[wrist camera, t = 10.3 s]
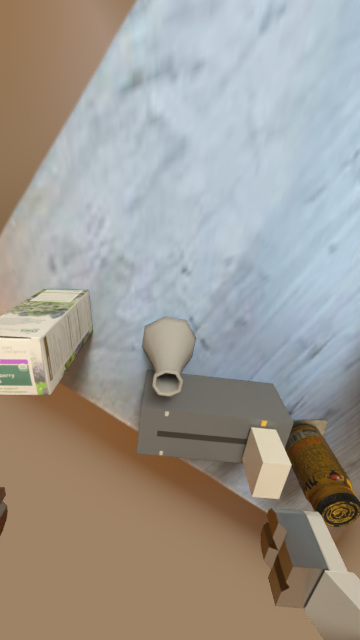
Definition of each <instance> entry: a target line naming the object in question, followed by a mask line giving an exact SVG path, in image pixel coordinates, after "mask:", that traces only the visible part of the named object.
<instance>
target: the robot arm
mask: <svg viewBox="0 0 360 640" xmlns="http://www.w3.org/2000/svg"><path fill="white" fill-rule="evenodd" d="M5 495H6V494H5V488H4V487H0V535H1V533H2V531H3V528H4V525H5V522H6V519H7V512H8V510H7V505H6V504H5V503H4V502H3V499H4V497H5ZM267 519H268V522H267V523H265V524H264V525H263V527H262V530H261V549H262V554H263V558H264V561H265V562H266V563H267V565H268V566H269V567H270V568H271V571H270V574H269V577H268V579H269V583H270V586H271V591H272V594H273V598H274V602H275V606H284V607H294V608H305V609H304V611H305V612H306V614H307V615H308V617H309V618H310V620H311V621H312V623H313V624H314V626H315V627H316V629H317V630H318V631H319V633H320V634H321V636H322V637H323V639H324V640H360V579H359V578H358V577H357V576H356V575H355V574H354V573H353V572H348V571H347V568H346V567H345V564H344V562H343V560H342V558H341V556H340V554H339V552H338V550H337V547H336V545H335V543H334V541H333V539H332V537H331V535H330V533H329V531H328V529H327V526H326V524H325V522H324V520H323V518H322V516H321V515H320V514H319V513H318V512H316V511H301V510H294V509H278V508H271V509H269V511H268V513H267Z"/></svg>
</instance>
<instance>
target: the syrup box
mask: <svg viewBox="0 0 360 640" xmlns="http://www.w3.org/2000/svg"><path fill="white" fill-rule="evenodd" d="M92 332H93V328H92V319H91V310H90V300H89V291H88V290H54V289H44V290H42V291H40V292H38V293H37V294H35V295H34V296H32V297H31V298H29V299H27V300H26V301H24V302H23V303H21V304H19V305H18V306H16V307H14V308H13V309H11V310H10V311H8V312H7V313H5V314H3V315H2V316H0V394H2V395H51V393H52V392H53V390H54V389H55V387H56V386H57V384H58V383H59V381H60V380H61V378H62V377H63V375H64V374H65V372H66V371H67V369H68V368H69V366H70V365H71V363H72V362H73V360H74V359H75V357H76V356H77V354H78V353H79V351H80V350H81V348H82V347H83V345H84V344H85V342H86V341H87V339H88V338H89V336H90V335H91V333H92Z"/></svg>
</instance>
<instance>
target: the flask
mask: <svg viewBox="0 0 360 640" xmlns="http://www.w3.org/2000/svg"><path fill="white" fill-rule="evenodd" d="M195 341H196V337H195V335H194V333H193V331H192V330H191V328H190V326H189V324H188V322H187V320H182V319H175V318H169V317H163V318H161V319H159V320H157V321H155V322H153V323H151V324H149V325H147V326H145V330H144V337H143V344H142V346H143V348H144V349H145V351H146V353H147V354H148V356H149V358H150V360H151V361H152V363H153V365H154V368H155V374H154V378H153V384H152V386H153V388H154V390H155V391H156V393H157V394H158V395H161V396H168V397H171V396H173V395H175V394H178V393H180V392H181V389H182V384H183V379H182V378H181V376H180V372H181V371H182V369H183V368H184V366H185V365H186V364H187V362H188V361H189V360H190V359H191V357H192V354H193V350H194V345H195Z"/></svg>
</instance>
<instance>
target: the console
mask: <svg viewBox="0 0 360 640" xmlns="http://www.w3.org/2000/svg"><path fill="white" fill-rule="evenodd" d="M154 374H155V371H151V370H147V376H146V382H145V388H144V394H143V400H142V406H141V415H140V424H139V434H138V443H137V452H136V453H137V454H147V455H157V456H168V457H179V458H191V459H202V460H213V461H224V462H235V463H243V460H242V458H243V454H244V451H245V447H246V444H247V440H248V437H249V433H250V430H251V427H254V428H264V429H274V430H276V431H277V433H278V435H279V437H280V440H281V442H282V444H283V446H284V449H285V446H286V443H287V440H288V438H289V435H290V432H291V429H292V426H293V423H294V422H293V421H292V419H291V417H290V415H289V413H288V411H287V409H286V408H285V406H284V404H283V402H282V400H281V398H280V396H279V394H278V393H277V391H276V389H275V387H274V385H273V384H271V383H261V382H252V381H243V380H234V379H225V378H215V377H206V376H197V375H188V374H180V376H181V378H182V379H183V384H182V389H181V392H180V393H178V394H175V395H173V396H171V397H168V396H161V395H158V394H157V393H156V391H155V390H154V388H153V386H152V384H153V378H154Z"/></svg>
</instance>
